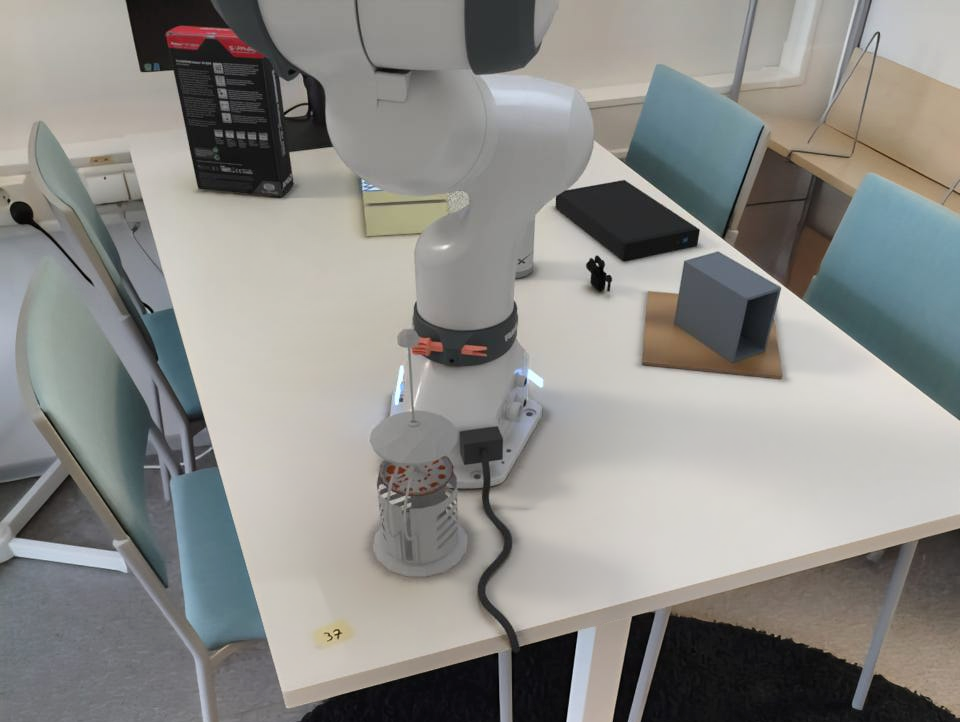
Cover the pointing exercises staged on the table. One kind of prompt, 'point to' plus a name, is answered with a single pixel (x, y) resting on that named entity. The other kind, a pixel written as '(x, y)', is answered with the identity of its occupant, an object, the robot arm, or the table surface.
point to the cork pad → (696, 345)
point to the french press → (417, 489)
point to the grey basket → (726, 306)
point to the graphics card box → (230, 112)
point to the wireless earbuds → (598, 274)
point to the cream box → (400, 211)
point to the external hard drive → (627, 220)
